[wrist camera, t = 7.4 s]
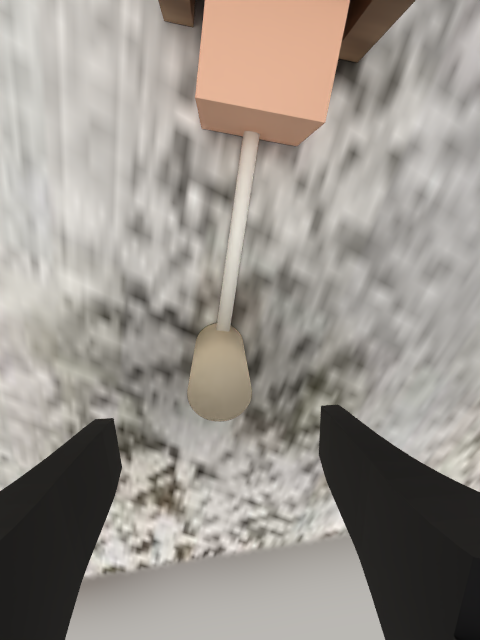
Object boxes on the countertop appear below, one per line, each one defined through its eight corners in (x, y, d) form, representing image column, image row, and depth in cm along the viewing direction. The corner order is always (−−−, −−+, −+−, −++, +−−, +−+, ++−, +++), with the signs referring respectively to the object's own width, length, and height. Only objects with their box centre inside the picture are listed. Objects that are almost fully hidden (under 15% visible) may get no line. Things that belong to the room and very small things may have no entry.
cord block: (317, 32, 14) (368, -58, 9) (255, 371, 19) (267, 426, 14) (214, 9, 14) (212, -99, 9) (176, 362, 19) (161, 416, 14)
